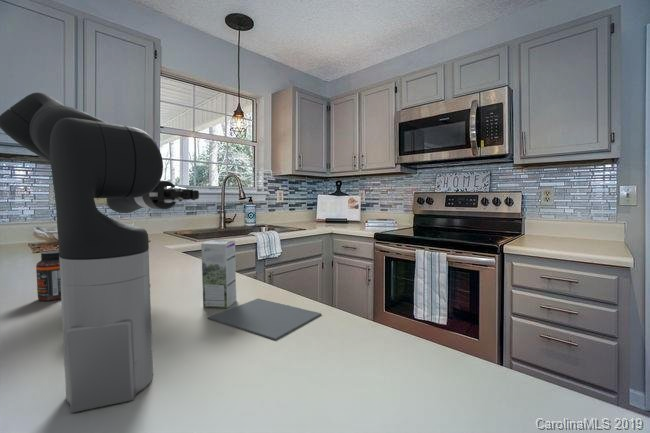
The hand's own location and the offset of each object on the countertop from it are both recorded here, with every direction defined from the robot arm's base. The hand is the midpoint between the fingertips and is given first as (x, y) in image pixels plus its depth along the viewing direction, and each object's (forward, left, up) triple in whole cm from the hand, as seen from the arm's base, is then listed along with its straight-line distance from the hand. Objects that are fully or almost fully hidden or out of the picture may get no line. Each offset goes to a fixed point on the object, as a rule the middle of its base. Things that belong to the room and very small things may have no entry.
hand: (195, 194), depth 75 cm
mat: (-18, -13, -25) cm, 33 cm away
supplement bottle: (+13, +32, -25) cm, 43 cm away
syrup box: (-7, -5, -25) cm, 26 cm away
